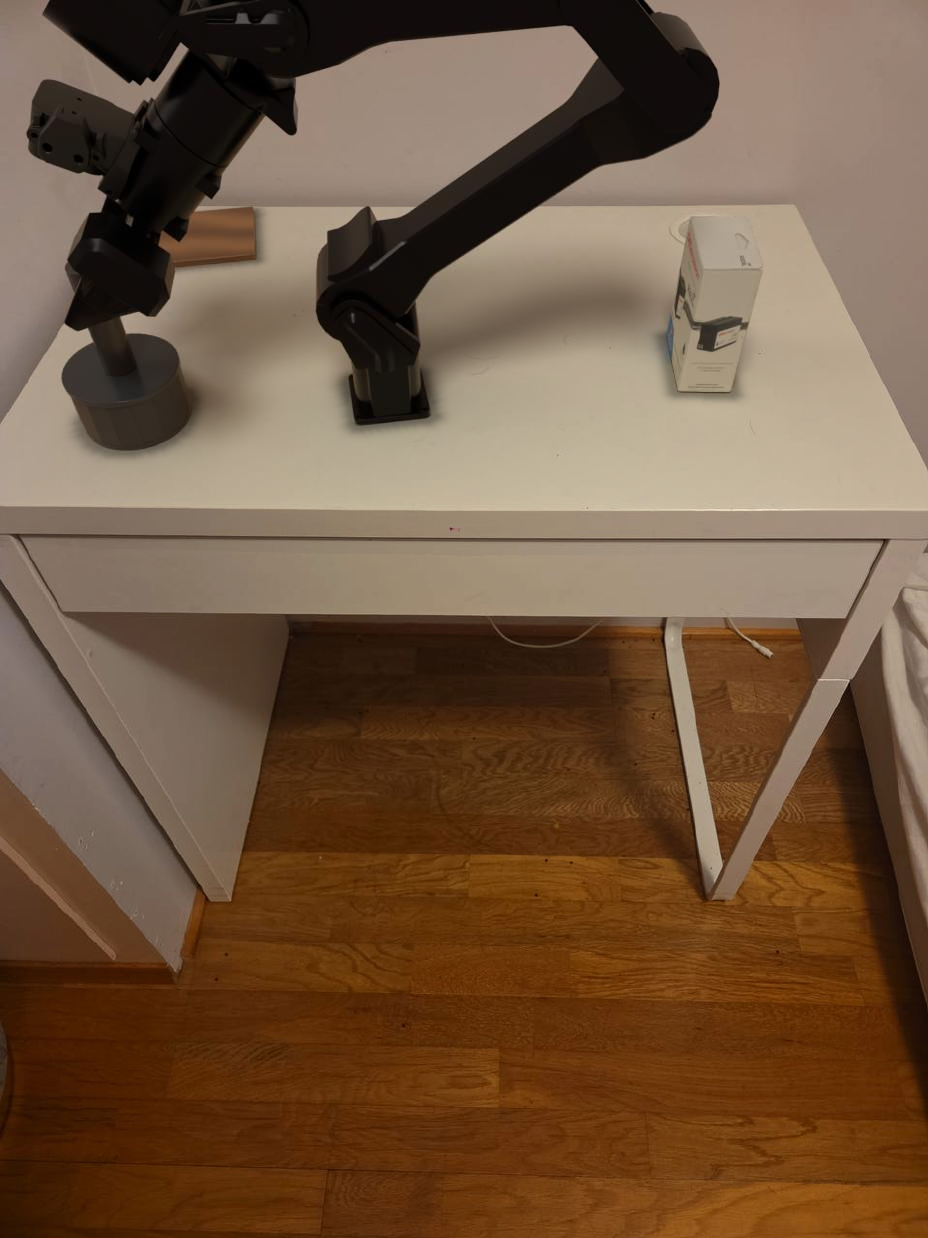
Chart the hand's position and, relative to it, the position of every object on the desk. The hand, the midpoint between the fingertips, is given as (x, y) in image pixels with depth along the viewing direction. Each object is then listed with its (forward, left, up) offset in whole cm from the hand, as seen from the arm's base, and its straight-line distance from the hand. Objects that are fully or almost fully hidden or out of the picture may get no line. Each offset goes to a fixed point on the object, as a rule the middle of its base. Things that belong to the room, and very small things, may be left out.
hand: (81, 291), depth 68 cm
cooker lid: (0, -1, -7) cm, 7 cm away
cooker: (0, -1, -12) cm, 12 cm away
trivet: (+28, -6, -12) cm, 31 cm away
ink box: (-2, -50, -12) cm, 52 cm away
